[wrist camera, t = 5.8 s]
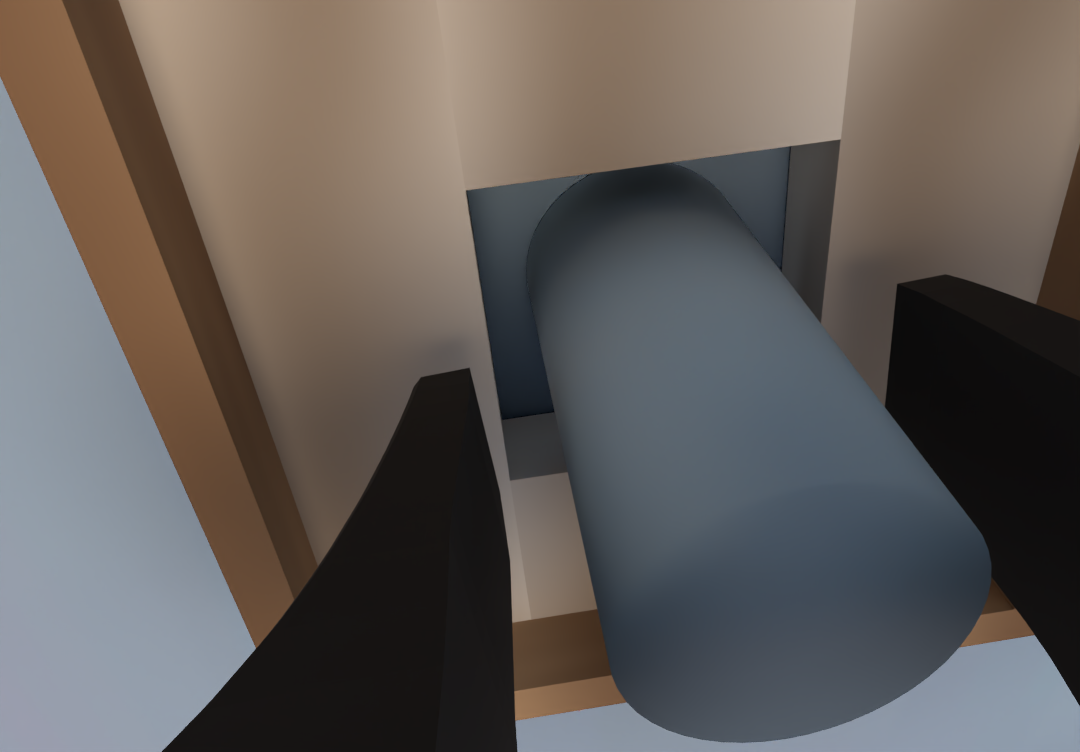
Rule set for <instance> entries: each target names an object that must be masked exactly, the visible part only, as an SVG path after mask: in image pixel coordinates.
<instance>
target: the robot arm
mask: <svg viewBox="0 0 1080 752" xmlns="http://www.w3.org/2000/svg"><path fill="white" fill-rule="evenodd" d="M885 408H886V409H887V411H888V412H889V413H890V415H891V416H892V417H893V418H894V420H895V421H896V422H897V424H898V425H899V426H900V428H901V429H902V430H903V432H904V433H905V434H906V435H907V437H908V438H909V439H910V441H911V442H912V443H913V445H914V446H915V447H916V449H917V450H918V451H919V452H920V454H921V455H922V456H923V458H924V459H925V460H926V462H927V463H928V464H929V466H930V467H931V468H932V469H933V471H934V472H935V473H936V475H937V476H938V477H939V479H940V480H941V481H942V483H943V484H944V485H945V486H946V488H947V489H948V490H949V492H950V493H951V494H952V496H953V497H954V498H955V500H956V501H957V502H958V503H959V505H960V506H961V507H962V509H963V510H964V511H965V513H966V514H967V515H968V517H969V518H970V519H971V520H972V522H973V523H974V524H975V526H976V527H977V529H978V530H979V531H980V533H981V534H982V536H983V538H984V540H985V543H986V545H987V547H988V550H989V555H990V560H991V577H992V578H993V580H994V581H995V582H996V584H997V585H998V586H999V587H1000V589H1001V590H1002V591H1003V593H1004V594H1005V595H1006V597H1007V598H1008V599H1009V601H1010V602H1011V603H1012V605H1013V606H1014V607H1015V609H1016V610H1017V611H1018V612H1019V614H1020V615H1021V616H1022V618H1023V619H1024V620H1025V622H1026V623H1027V624H1028V626H1029V627H1030V629H1031V630H1032V632H1033V633H1034V635H1035V636H1036V637H1037V639H1038V640H1039V642H1040V643H1041V645H1042V646H1043V647H1044V649H1045V650H1046V652H1047V653H1048V655H1049V656H1050V658H1051V659H1052V661H1053V663H1054V664H1055V666H1056V667H1057V669H1058V671H1059V672H1060V674H1061V676H1062V677H1063V679H1064V681H1065V682H1066V684H1067V686H1068V687H1069V689H1070V691H1071V692H1072V694H1073V695H1074V697H1075V699H1076V700H1077V702H1078V704H1079V705H1080V321H1079V320H1077V319H1074V318H1071V317H1069V316H1066V315H1063V314H1060V313H1058V312H1055V311H1052V310H1050V309H1047V308H1044V307H1042V306H1039V305H1036V304H1034V303H1031V302H1028V301H1026V300H1023V299H1020V298H1017V297H1015V296H1012V295H1009V294H1007V293H1004V292H1001V291H998V290H995V289H992V288H990V287H987V286H984V285H981V284H978V283H975V282H972V281H968V280H965V279H962V278H958V277H954V276H951V275H947V274H944V275H939V276H934V277H929V278H924V279H919V280H914V281H909V282H904V283H899V284H897V289H896V299H895V309H894V319H893V329H892V339H891V349H890V359H889V369H888V379H887V389H886V399H885ZM162 752H517V740H516V726H515V694H514V661H513V628H512V597H511V569H510V556H509V549H508V543H507V536H506V529H505V522H504V515H503V509H502V502H501V495H500V490H499V486H498V482H497V477H496V473H495V469H494V465H493V461H492V457H491V453H490V449H489V445H488V441H487V437H486V433H485V428H484V424H483V420H482V416H481V412H480V408H479V404H478V400H477V396H476V392H475V388H474V384H473V379H472V375H471V371H470V368H465V369H460V370H455V371H450V372H445V373H439V374H434V375H429V376H424V377H421V378H420V379H419V380H418V382H417V383H416V384H415V386H414V387H413V390H412V393H411V395H410V398H409V400H408V402H407V405H406V407H405V410H404V412H403V414H402V416H401V419H400V421H399V423H398V425H397V428H396V430H395V432H394V434H393V436H392V438H391V440H390V442H389V444H388V447H387V449H386V451H385V453H384V454H383V456H382V458H381V460H380V462H379V464H378V466H377V468H376V470H375V472H374V474H373V475H372V477H371V479H370V481H369V483H368V485H367V487H366V489H365V491H364V493H363V494H362V496H361V498H360V500H359V501H358V503H357V505H356V506H355V508H354V510H353V511H352V513H351V515H350V516H349V518H348V520H347V521H346V523H345V525H344V526H343V528H342V529H341V531H340V533H339V534H338V536H337V538H336V539H335V541H334V543H333V544H332V546H331V548H330V549H329V551H328V552H327V554H326V555H325V557H324V558H323V560H322V561H321V563H320V564H319V566H318V567H317V569H316V570H315V572H314V573H313V575H312V576H311V578H310V579H309V580H308V582H307V583H306V585H305V586H304V587H303V589H302V590H301V592H300V593H299V594H298V596H297V597H296V598H295V600H294V601H293V602H292V604H291V605H290V606H289V608H288V609H287V610H286V612H285V613H284V614H283V616H282V617H281V619H280V620H279V621H278V622H277V624H276V625H275V626H274V627H273V629H272V630H271V631H270V632H269V634H268V635H267V636H266V637H265V638H264V640H263V641H262V642H261V643H260V645H259V646H258V647H257V648H256V649H255V651H254V652H253V653H252V654H251V655H250V656H249V658H248V659H247V660H246V661H245V662H244V663H243V665H242V666H241V667H240V668H239V669H238V670H237V671H236V673H235V674H234V675H233V676H232V677H231V678H230V680H229V681H228V682H227V683H226V684H225V685H224V686H223V688H222V689H221V690H220V691H219V692H218V693H217V695H216V696H215V697H214V698H213V699H212V700H211V701H210V702H209V703H208V704H207V706H206V707H205V708H204V709H203V710H202V711H201V712H200V713H199V714H198V715H197V716H196V717H195V718H194V719H193V720H192V721H191V722H190V723H189V724H188V725H187V726H186V727H185V728H184V729H183V731H182V732H181V733H180V734H179V735H178V736H177V737H176V738H175V739H174V740H173V741H172V742H171V743H170V744H169V745H168V746H167V747H166V748H165V749H164V750H163V751H162Z"/></svg>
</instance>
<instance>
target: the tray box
mask: <svg viewBox="0 0 1080 752" xmlns="http://www.w3.org/2000/svg"><path fill="white" fill-rule="evenodd" d="M0 77H1V79H2V81H3V83H4V86H5V88H6V90H7V92H8V95H9V97H10V99H11V101H12V104H13V106H14V108H15V110H16V113H17V115H18V117H19V119H20V121H21V124H22V126H23V128H24V130H25V133H26V135H27V137H28V139H29V142H30V144H31V146H32V148H33V151H34V153H35V155H36V157H37V159H38V162H39V164H40V166H41V168H42V171H43V173H44V175H45V177H46V180H47V182H48V184H49V186H50V189H51V191H52V193H53V195H54V197H55V200H56V202H57V204H58V206H59V209H60V211H61V213H62V215H63V218H64V220H65V222H66V224H67V227H68V229H69V231H70V233H71V235H72V238H73V240H74V242H75V244H76V247H77V249H78V251H79V253H80V256H81V258H82V260H83V262H84V265H85V267H86V269H87V271H88V274H89V276H90V278H91V280H92V282H93V285H94V287H95V289H96V291H97V294H98V296H99V298H100V300H101V303H102V305H103V307H104V309H105V312H106V314H107V316H108V318H109V320H110V323H111V325H112V327H113V329H114V332H115V334H116V336H117V338H118V341H119V343H120V345H121V347H122V350H123V352H124V354H125V356H126V358H127V361H128V363H129V365H130V367H131V370H132V372H133V374H134V376H135V379H136V381H137V383H138V385H139V388H140V390H141V392H142V394H143V396H144V399H145V401H146V403H147V405H148V408H149V410H150V412H151V414H152V417H153V419H154V421H155V423H156V426H157V428H158V430H159V432H160V434H161V437H162V439H163V441H164V443H165V446H166V448H167V450H168V452H169V455H170V457H171V459H172V461H173V464H174V466H175V468H176V470H177V472H178V475H179V477H180V479H181V481H182V484H183V486H184V488H185V490H186V493H187V495H188V497H189V499H190V502H191V504H192V506H193V508H194V510H195V513H196V515H197V517H198V519H199V522H200V524H201V526H202V528H203V531H204V533H205V535H206V537H207V540H208V542H209V544H210V546H211V548H212V551H213V553H214V555H215V557H216V560H217V562H218V564H219V566H220V569H221V571H222V573H223V575H224V578H225V580H226V582H227V584H228V586H229V589H230V591H231V593H232V595H233V598H234V600H235V602H236V604H237V607H238V609H239V611H240V613H241V616H242V618H243V620H244V622H245V624H246V627H247V629H248V631H249V633H250V636H251V638H252V640H253V642H254V645H255V647H256V648H257V647H258V646H259V645H260V643H261V642H262V641H263V640H264V638H265V637H266V636H267V635H268V634H269V632H270V631H271V630H272V629H273V627H274V626H275V625H276V624H277V622H278V621H279V620H280V619H281V617H282V616H283V614H284V613H285V612H286V610H287V609H288V608H289V606H290V605H291V604H292V602H293V601H294V600H295V598H296V597H297V596H298V594H299V593H300V592H301V590H302V589H303V587H304V586H305V585H306V583H307V582H308V580H309V579H310V578H311V576H312V575H313V573H314V572H315V570H316V569H317V567H318V566H319V564H320V563H321V561H322V560H323V558H324V557H325V555H326V554H327V552H328V551H329V549H330V548H331V546H332V544H333V543H334V541H335V539H336V538H337V536H338V534H339V533H340V531H341V529H342V528H343V526H344V525H345V523H346V521H347V520H348V518H349V516H350V515H351V513H352V511H353V510H354V508H355V506H356V505H357V503H358V501H359V500H360V498H361V496H362V494H363V493H364V491H365V489H366V487H367V485H368V483H369V481H370V479H371V477H372V475H373V474H374V472H375V470H376V468H377V466H378V464H379V462H380V460H381V458H382V456H383V454H384V453H385V451H386V449H387V447H388V444H389V442H390V440H391V438H392V436H393V434H394V432H395V430H396V428H397V425H398V423H399V421H400V419H401V416H402V414H403V412H404V410H405V407H406V405H407V402H408V400H409V398H410V395H411V393H412V390H413V387H414V386H415V384H416V383H417V382H418V380H419V379H420V378H421V377H424V376H429V375H434V374H439V373H445V372H450V371H455V370H460V369H465V368H470V371H471V375H472V379H473V384H474V388H475V392H476V396H477V400H478V404H479V408H480V412H481V416H482V420H483V424H484V428H485V433H486V437H487V441H488V445H489V449H490V453H491V457H492V461H493V465H494V469H495V473H496V477H497V482H498V486H499V490H500V495H501V502H502V509H503V515H504V522H505V529H506V536H507V543H508V549H509V556H510V569H511V597H512V628H513V661H514V694H515V721H516V720H522V719H528V718H534V717H540V716H546V715H552V714H559V713H565V712H571V711H577V710H583V709H589V708H595V707H601V706H607V705H613V704H619V703H625V702H626V700H625V699H624V698H623V696H622V695H621V693H620V692H619V690H618V689H617V687H616V684H615V682H614V680H613V677H612V675H611V670H610V665H609V661H608V656H607V651H606V647H605V642H604V638H603V633H602V628H601V624H600V619H599V614H598V610H597V605H596V601H595V596H594V591H593V587H592V582H591V577H590V573H589V568H588V564H587V559H586V554H585V550H584V545H583V540H582V536H581V531H580V527H579V522H578V517H577V513H576V508H575V503H574V499H573V494H572V490H571V485H570V480H569V476H568V471H567V466H566V462H565V457H564V453H563V448H562V443H561V439H560V434H559V429H558V425H557V420H556V415H555V412H553V413H547V414H540V415H533V416H526V417H520V418H513V419H506V420H502V418H501V411H500V404H499V398H498V391H497V385H496V378H495V372H494V365H493V359H492V352H491V346H490V339H489V332H488V326H487V319H486V313H485V306H484V300H483V293H482V287H481V280H480V274H479V267H478V260H477V254H476V247H475V241H474V234H473V228H472V221H471V215H470V208H469V202H468V195H467V190H473V189H480V188H487V187H495V186H502V185H509V184H517V183H524V182H531V181H539V180H546V179H553V178H561V177H568V176H575V175H583V174H590V173H598V172H605V171H612V170H620V169H627V168H634V167H642V166H649V165H656V164H664V163H671V162H678V161H686V160H693V159H700V158H708V157H715V156H722V155H730V154H737V153H744V152H752V151H759V150H766V149H774V148H781V147H788V146H791V154H790V168H789V181H788V194H787V208H786V221H785V234H784V248H783V261H782V273H783V275H784V276H785V277H786V279H787V280H788V281H789V283H790V284H791V285H792V286H793V288H794V289H795V290H796V292H797V293H798V294H799V296H800V297H801V298H802V300H803V301H804V302H805V303H806V305H807V306H808V307H809V309H810V310H811V311H812V313H813V314H814V315H815V317H816V318H817V319H818V320H819V322H820V323H821V324H822V326H823V327H824V328H825V330H826V331H827V332H828V334H829V335H830V336H831V337H832V339H833V340H834V341H835V343H836V344H837V345H838V347H839V348H840V349H841V351H842V352H843V353H844V354H845V356H846V357H847V358H848V360H849V361H850V362H851V364H852V365H853V366H854V368H855V369H856V370H857V371H858V373H859V374H860V375H861V377H862V378H863V379H864V381H865V382H866V383H867V385H868V386H869V387H870V388H871V390H872V391H873V392H874V394H875V395H876V396H877V398H878V399H879V400H880V402H881V403H882V404H883V405H884V407H885V399H886V389H887V379H888V369H889V359H890V349H891V339H892V329H893V319H894V309H895V299H896V289H897V284H899V283H904V282H909V281H914V280H919V279H924V278H929V277H934V276H939V275H944V274H947V275H951V276H954V277H958V278H962V279H965V280H968V281H972V282H975V283H978V284H981V285H984V286H987V287H990V288H992V289H995V290H998V291H1001V292H1004V293H1007V294H1009V295H1012V296H1015V297H1017V298H1020V299H1023V300H1026V301H1028V302H1031V303H1034V304H1036V305H1039V306H1042V307H1044V308H1047V309H1050V310H1052V311H1055V312H1058V313H1060V314H1063V315H1066V316H1069V317H1071V318H1074V319H1077V320H1079V321H1080V0H0ZM1031 635H1034V633H1033V632H1032V630H1031V629H1030V627H1029V626H1028V624H1027V623H1026V622H1025V620H1024V619H1023V618H1022V616H1021V615H1020V614H1019V612H1018V611H1017V610H1016V609H1015V607H1014V606H1013V605H1012V603H1011V602H1010V601H1009V599H1008V598H1007V597H1006V595H1005V594H1004V593H1003V591H1002V590H1001V589H1000V587H999V586H998V585H997V584H996V582H995V581H994V580H993V578H992V577H991V584H990V589H989V594H988V598H987V601H986V603H985V606H984V608H983V611H982V613H981V616H980V617H979V619H978V621H977V622H976V624H975V626H974V628H973V629H972V631H971V632H970V634H969V635H968V636H967V638H966V639H965V640H964V642H963V643H962V644H961V646H960V647H965V646H971V645H977V644H983V643H989V642H995V641H1001V640H1007V639H1013V638H1019V637H1025V636H1031Z"/></svg>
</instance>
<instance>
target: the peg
mask: <svg viewBox="0 0 1080 752" xmlns="http://www.w3.org/2000/svg"><path fill="white" fill-rule="evenodd" d="M526 275H527V285H528V290H529V295H530V300H531V304H532V309H533V314H534V318H535V323H536V328H537V332H538V337H539V341H540V346H541V351H542V355H543V360H544V365H545V369H546V374H547V378H548V383H549V388H550V392H551V397H552V402H553V406H554V411H555V415H556V420H557V425H558V429H559V434H560V439H561V443H562V448H563V453H564V457H565V462H566V466H567V471H568V476H569V480H570V485H571V490H572V494H573V499H574V503H575V508H576V513H577V517H578V522H579V527H580V531H581V536H582V540H583V545H584V550H585V554H586V559H587V564H588V568H589V573H590V577H591V582H592V587H593V591H594V596H595V601H596V605H597V610H598V614H599V619H600V624H601V628H602V633H603V638H604V642H605V647H606V651H607V656H608V661H609V665H610V670H611V675H612V677H613V680H614V682H615V684H616V687H617V689H618V690H619V692H620V693H621V695H622V696H623V698H624V699H625V700H626V702H627V703H628V704H629V705H630V706H631V707H632V708H633V709H634V710H635V711H636V712H637V713H639V714H640V715H642V716H643V717H645V718H646V719H647V720H649V721H650V722H652V723H654V724H656V725H658V726H660V727H662V728H664V729H666V730H669V731H672V732H675V733H678V734H681V735H684V736H688V737H693V738H697V739H702V740H709V741H718V742H739V743H746V742H765V741H772V740H780V739H787V738H792V737H797V736H802V735H807V734H811V733H814V732H818V731H822V730H825V729H829V728H832V727H835V726H838V725H840V724H843V723H846V722H849V721H852V720H854V719H856V718H859V717H861V716H863V715H865V714H868V713H870V712H872V711H874V710H876V709H878V708H880V707H882V706H884V705H886V704H888V703H890V702H892V701H893V700H895V699H897V698H898V697H900V696H901V695H903V694H905V693H906V692H908V691H909V690H911V689H913V688H914V687H915V686H917V685H918V684H919V683H921V682H922V681H923V680H925V679H926V678H927V677H929V676H930V675H931V674H932V673H933V672H935V671H936V670H937V669H938V668H939V667H940V666H941V665H943V664H944V663H945V662H946V661H947V660H948V659H949V658H950V657H951V656H952V654H953V653H954V652H955V651H956V650H957V649H958V648H959V647H960V646H961V644H962V643H963V642H964V640H965V639H966V638H967V636H968V635H969V634H970V632H971V631H972V629H973V628H974V626H975V624H976V622H977V621H978V619H979V617H980V616H981V613H982V611H983V608H984V606H985V603H986V601H987V598H988V594H989V589H990V584H991V560H990V555H989V550H988V547H987V545H986V543H985V540H984V538H983V536H982V534H981V533H980V531H979V530H978V529H977V527H976V526H975V524H974V523H973V522H972V520H971V519H970V518H969V517H968V515H967V514H966V513H965V511H964V510H963V509H962V507H961V506H960V505H959V503H958V502H957V501H956V500H955V498H954V497H953V496H952V494H951V493H950V492H949V490H948V489H947V488H946V486H945V485H944V484H943V483H942V481H941V480H940V479H939V477H938V476H937V475H936V473H935V472H934V471H933V469H932V468H931V467H930V466H929V464H928V463H927V462H926V460H925V459H924V458H923V456H922V455H921V454H920V452H919V451H918V450H917V449H916V447H915V446H914V445H913V443H912V442H911V441H910V439H909V438H908V437H907V435H906V434H905V433H904V432H903V430H902V429H901V428H900V426H899V425H898V424H897V422H896V421H895V420H894V418H893V417H892V416H891V415H890V413H889V412H888V411H887V409H886V408H885V407H884V405H883V404H882V403H881V402H880V400H879V399H878V398H877V396H876V395H875V394H874V392H873V391H872V390H871V388H870V387H869V386H868V385H867V383H866V382H865V381H864V379H863V378H862V377H861V375H860V374H859V373H858V371H857V370H856V369H855V368H854V366H853V365H852V364H851V362H850V361H849V360H848V358H847V357H846V356H845V354H844V353H843V352H842V351H841V349H840V348H839V347H838V345H837V344H836V343H835V341H834V340H833V339H832V337H831V336H830V335H829V334H828V332H827V331H826V330H825V328H824V327H823V326H822V324H821V323H820V322H819V320H818V319H817V318H816V317H815V315H814V314H813V313H812V311H811V310H810V309H809V307H808V306H807V305H806V303H805V302H804V301H803V300H802V298H801V297H800V296H799V294H798V293H797V292H796V290H795V289H794V288H793V286H792V285H791V284H790V283H789V281H788V280H787V279H786V277H785V276H784V275H783V273H782V272H781V271H780V269H779V268H778V267H777V266H776V264H775V263H774V262H773V260H772V259H771V258H770V256H769V255H768V254H767V253H766V251H765V250H764V249H763V247H762V246H761V245H760V243H759V242H758V241H757V239H756V238H755V237H754V236H753V234H752V233H751V232H750V230H749V229H748V228H747V226H746V225H745V224H744V222H743V221H742V220H741V219H740V217H739V216H738V215H737V213H736V212H735V211H734V209H733V208H732V207H731V205H730V204H729V203H728V202H727V200H726V199H725V198H724V196H723V195H722V194H721V192H720V191H719V190H718V189H717V188H716V187H714V186H713V185H712V184H711V183H710V182H709V181H707V180H706V179H705V178H703V177H702V176H700V175H699V174H697V173H695V172H693V171H691V170H689V169H686V168H683V167H680V166H677V165H674V164H669V163H664V164H656V165H649V166H642V167H634V168H627V169H620V170H612V171H605V172H598V173H594V174H591V175H589V176H587V177H585V178H584V179H582V180H581V181H579V182H578V183H576V184H575V185H573V186H572V187H571V188H569V189H568V190H567V191H566V192H565V193H563V194H562V195H561V196H560V197H559V198H558V199H557V200H556V201H555V202H554V203H553V205H552V206H551V207H550V208H549V210H548V211H547V212H546V214H545V215H544V216H543V218H542V220H541V221H540V223H539V225H538V227H537V229H536V231H535V233H534V236H533V238H532V241H531V244H530V248H529V252H528V256H527V267H526Z"/></svg>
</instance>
